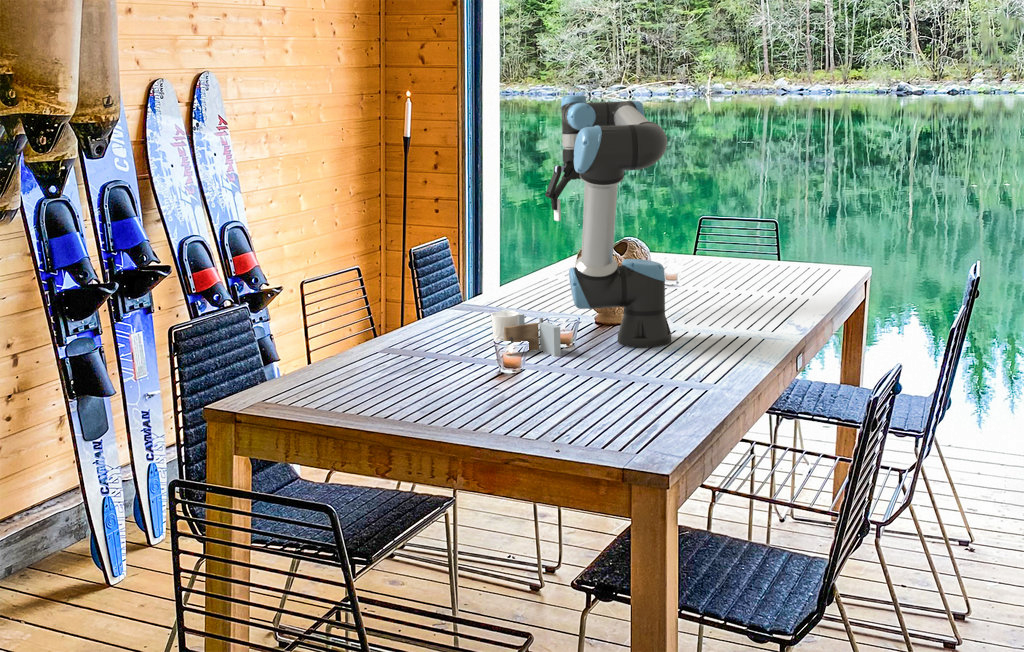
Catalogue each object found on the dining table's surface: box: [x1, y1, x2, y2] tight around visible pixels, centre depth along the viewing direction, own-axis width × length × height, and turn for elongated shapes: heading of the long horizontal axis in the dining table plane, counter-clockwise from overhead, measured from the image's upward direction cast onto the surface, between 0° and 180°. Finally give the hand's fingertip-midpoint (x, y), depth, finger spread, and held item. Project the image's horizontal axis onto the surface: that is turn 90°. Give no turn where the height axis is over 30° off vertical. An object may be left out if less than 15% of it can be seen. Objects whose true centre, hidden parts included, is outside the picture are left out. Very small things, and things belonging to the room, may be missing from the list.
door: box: [504, 322, 540, 352], centre depth 306 cm, size 10×2×8 cm, turn 115°
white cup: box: [490, 310, 520, 341], centre depth 312 cm, size 8×8×10 cm
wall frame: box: [501, 308, 562, 357], centre depth 314 cm, size 30×2×9 cm, turn 28°
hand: (576, 218), depth 337 cm, fingers open, 13 cm apart
